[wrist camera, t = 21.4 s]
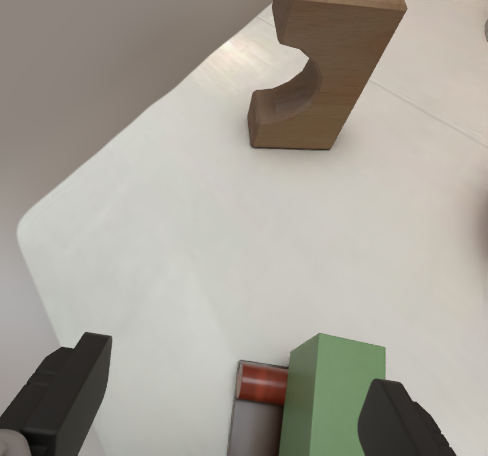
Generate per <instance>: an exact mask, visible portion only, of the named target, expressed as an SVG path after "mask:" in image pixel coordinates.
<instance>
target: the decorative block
mask: <svg viewBox="0 0 488 456" xmlns="http://www.w3.org/2000/svg"><path fill="white" fill-rule="evenodd" d="M406 10H407V6H406V3H405V1H404V0H273V4H272V11H273V16H274V22H275V27H276V32H277V38H278V41H279V43H280V44H283V45H286V46H290V47H293V48H297V49H300V50H301V51H302V52H303V53H304V54H305V55H306V56H308V57H309V60H308V62H307V64H306V65H305V67H304V69H303V71H302V72H300V73H299V74H298V75H296V76H295V77H294V78H293V79H291V80H290V81H289V82H287V83H284V84H282V85H280V86H278V87H275V88H273V89H264V90H256V91H254V92H253V94H252V99H251V103H250V108H249V112H248V124H249V133H250V141H251V145H252V146H254V147H279V148H311V149H330V148H331V147H332V145H333V144H334V142H335V140H336V138H337V136H338V134H339V133H340V131H341V129H342V127H343V125H344V123H345V122H346V120H347V118H348V116H349V114H350V112H351V111H352V109H353V107H354V105H355V103H356V102H357V100H358V98H359V96H360V94H361V93H362V91H363V89H364V87H365V85H366V83H367V82H368V80H369V78H370V76H371V74H372V72H373V71H374V69H375V67H376V65H377V63H378V61H379V60H380V58H381V56H382V54H383V52H384V50H385V49H386V47H387V45H388V43H389V41H390V40H391V38H392V36H393V34H394V32H395V30H396V29H397V27H398V25H399V23H400V21H401V20H402V18H403V16H404V14H405V12H406Z"/></svg>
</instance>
